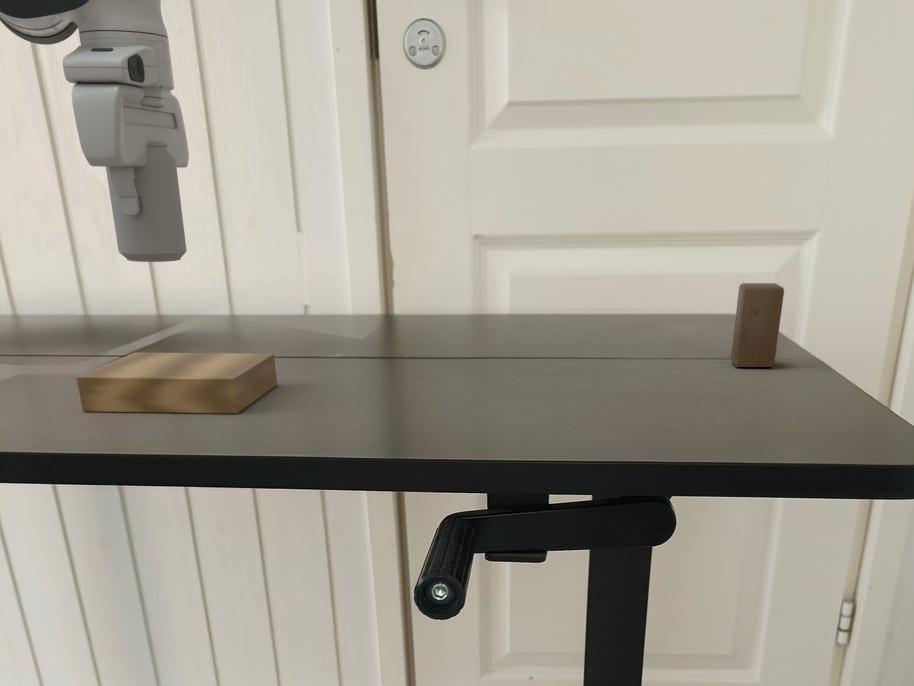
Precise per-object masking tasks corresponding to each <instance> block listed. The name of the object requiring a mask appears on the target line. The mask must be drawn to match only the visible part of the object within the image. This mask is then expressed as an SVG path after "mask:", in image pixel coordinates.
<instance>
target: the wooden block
mask: <svg viewBox="0 0 914 686" xmlns="http://www.w3.org/2000/svg"><path fill="white" fill-rule="evenodd" d="M784 295H785V288H784V287H783V286H781V285H779V283H778V284H777V283H776V282H766V283H765V282H743V283H740V285H739V286H738V293H737V302H736V309H735V311H736V312H735V319H734V328H733V336H732V337H733V338H732V339H733V340H732V346H731V355H730V360H731V362H732V363H733V365H734V366H735V367H736V368H738V367H772V368H773V367H774V366H775V364H776V363H775V362H776V355H777V346H778V342H779V341H778V339H779V334H780V333H779V332H780V326H781V318H782V312H783V311H782V309H783V305H784V304H783V303H784Z"/></svg>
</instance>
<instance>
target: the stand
mask: <svg viewBox="0 0 914 686" xmlns="http://www.w3.org/2000/svg"><path fill="white" fill-rule="evenodd" d="M76 384H77V388H78V389H77V390H78V393H79V398H80V404H81V408H82V411H83V412H84V413H85V412H93V413H94V412H95V413H154V414H155V413H156V414H157V413H159V414H161V413H163V414H164V413H165V414H223V415H225V414H228V415H230V414H231V415H234V414H235V415H237V414H239V413H241V412H242V411H243V410H245V409H246V408H247V407H249V406H250V405H252V404H253V403H254V402H256V401H257V400H259V399H260V398H261V397H263V396H264V395H265V394H267V393H268V392H269V391H271V390H273V389H274V388H275V387H276V386H278V380H277V370H276V360H275V354H274V353H234V352H233V353H229V352H228V353H227V352H225V353H224V352H223V353H220V352H219V353H218V352H215V353H214V352H212V353H211V352H210V353H209V352H133V353H130V354H128V355H126V356H123V357H121V358H119V359H116V360H114V361H111V362H109V363H107V364H105V365H102V366H99V367H98V368H95V369H93V370H90V371H88V372H85V373H83V374H80V375H78V376H76Z"/></svg>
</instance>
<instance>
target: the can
mask: <svg viewBox="0 0 914 686" xmlns="http://www.w3.org/2000/svg"><path fill="white" fill-rule="evenodd" d="M147 146H148V153H147V156H146V165H145V166H144V167H134V174H135V179H133V181H134V185H135V188H136V192H137V195H138V197H141V201H142V208H143V212H142V214H140V215H125V214H123V213H122V211H121V205H120V198H119V196H118V194H117V192H116V190H115V187H114V185H113V183H112V181H111V178H110V172H109V167H105V171H106V179H107V185H108V192H109V199H110V205H111V211H112V218H113V225H114V230H115V231H114V232H115V237H116V244H117V250H118V253H119V254H120V255H121V256H123V257H124V258H125V259H126V261H129V262H134V263H135V262H139V263H163V262H165V263H166V262H177V261H180V260H182V257H183V256H184V255H185V254H186V253H187V241H186V234H185V225H184V218H183V211H182V210H183V209H182V201H181V193H180V184H179V178H178V177H179V176H178V169H177V167H176V160H175V159H174V157H173V156H172V155H171V154H170V153H169V152H168V151H167V147H168V145H167V144H161V143H147Z"/></svg>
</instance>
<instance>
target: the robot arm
mask: <svg viewBox="0 0 914 686" xmlns="http://www.w3.org/2000/svg"><path fill="white" fill-rule="evenodd" d="M161 4H162V0H0V22H1V23H2V24H3V26H4V27H5V28H7V30H9V31H10V32H11V33H12V34H14V35H15V36H16V37H18V38H20V39H22V40H24V41H27V42H29V43H33V44H35V45H36V44H37V45H43V46H45V45H46V46H47V45H55V44H59V43H61V42H64V41H66V40H67V39H69V38H70V37H71V36H72V35H74V33H75V32H76V31H78V37H79V43H80V45H79V46H77V47H76V49H74V50H73V51H71V52H70V53H68V54H66V55H64V56H63V58H62V71H63V75H64V78H65V80H66V81H67V82H68V83H70V84H74V85H73V86H72V88H71V104H72V110H73V114H74V120H75V126H76V131H77V135H78V136H77V137H78V140H79V144H80V148H81V152H82V153H83V156H84V157H85V161H87V163H88V165H89V166H91V167H103V168H104V167H105V168H106V167H109V172H110V178H111V181H112V183H113V185H114V187H115V190H116V192H117V194H118V196H119V198H120V205H121V211H122V213H123V214H125V215H140V214H142V212H143V208H142V201H141V197H138V195H137V192H136V188H135V185H134V181H133V179H135V174H134V167H144V166H145V165H146V156H147V153H148V146H147V143H161V144H167V145H168V147H167V151H168V152H169V153H170V154H171V155H172V156H173V157H174V159H175V160H176V167H177V168H179V169H180V168H181V169H183V168H187V167H188V165H189V161H190V152H189V145H188V139H187V132H186V127H185V121H184V116H183V111H182V107H181V104H180V102H179V100H178V98H177V96H175V95H174V94H172V91H173V90H175V82H174V74H173V66H172V65H173V64H172V60H171V59H172V58H171V57H172V56H171V50H170V42H169V40H170V39H169V35H168V31H167V28H166V25H165V23H164V20H163V15H162V5H161Z"/></svg>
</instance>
